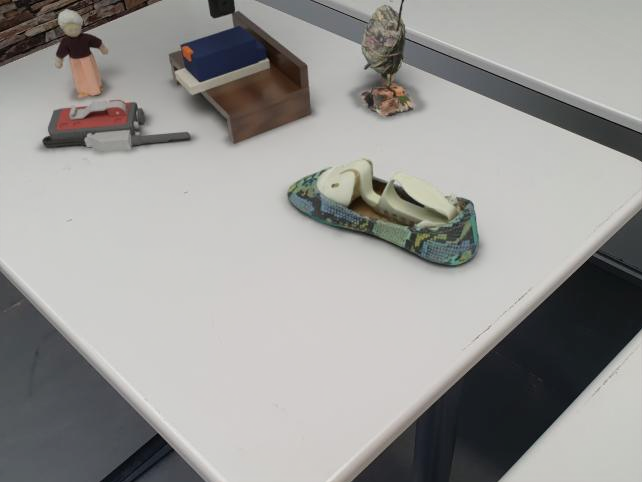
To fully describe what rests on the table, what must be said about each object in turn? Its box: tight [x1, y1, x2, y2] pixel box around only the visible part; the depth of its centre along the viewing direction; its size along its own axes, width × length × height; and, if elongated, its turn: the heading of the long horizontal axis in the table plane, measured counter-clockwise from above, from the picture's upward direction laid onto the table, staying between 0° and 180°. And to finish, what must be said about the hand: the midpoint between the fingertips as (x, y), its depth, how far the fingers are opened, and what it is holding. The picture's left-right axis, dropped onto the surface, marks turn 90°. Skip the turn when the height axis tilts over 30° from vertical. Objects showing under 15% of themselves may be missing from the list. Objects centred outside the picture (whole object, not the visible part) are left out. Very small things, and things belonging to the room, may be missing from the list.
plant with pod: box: [360, 0, 414, 118], centre depth 91 cm, size 8×11×20 cm
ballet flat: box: [286, 157, 480, 266], centre depth 78 cm, size 9×24×8 cm, turn 60°
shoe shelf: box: [167, 10, 312, 145], centre depth 97 cm, size 12×20×8 cm, turn 32°
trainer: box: [175, 26, 270, 96], centre depth 94 cm, size 12×5×5 cm, turn 122°
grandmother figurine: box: [54, 8, 109, 99], centre depth 99 cm, size 8×4×13 cm, turn 129°
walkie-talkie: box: [41, 99, 191, 152], centre depth 94 cm, size 9×4×20 cm
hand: (206, 0), depth 88 cm, fingers open, 9 cm apart
